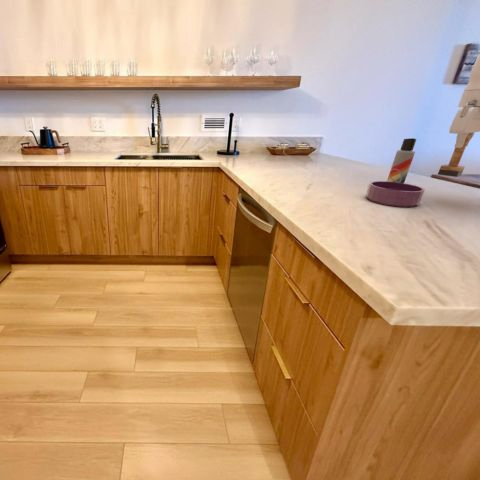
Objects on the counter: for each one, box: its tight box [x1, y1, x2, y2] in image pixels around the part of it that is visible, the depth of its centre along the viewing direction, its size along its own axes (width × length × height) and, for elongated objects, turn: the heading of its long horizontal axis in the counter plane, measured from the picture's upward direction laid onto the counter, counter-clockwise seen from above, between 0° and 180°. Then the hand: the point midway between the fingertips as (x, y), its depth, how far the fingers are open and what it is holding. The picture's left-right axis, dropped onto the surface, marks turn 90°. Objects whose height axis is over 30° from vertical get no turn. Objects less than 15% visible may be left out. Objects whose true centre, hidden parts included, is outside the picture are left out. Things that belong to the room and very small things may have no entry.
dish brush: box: [437, 135, 470, 178], centre depth 95 cm, size 5×4×13 cm
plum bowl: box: [365, 180, 425, 208], centre depth 102 cm, size 15×15×6 cm
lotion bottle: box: [386, 137, 417, 183], centre depth 115 cm, size 6×6×20 cm
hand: (460, 147), depth 94 cm, fingers closed on dish brush, 2 cm apart
